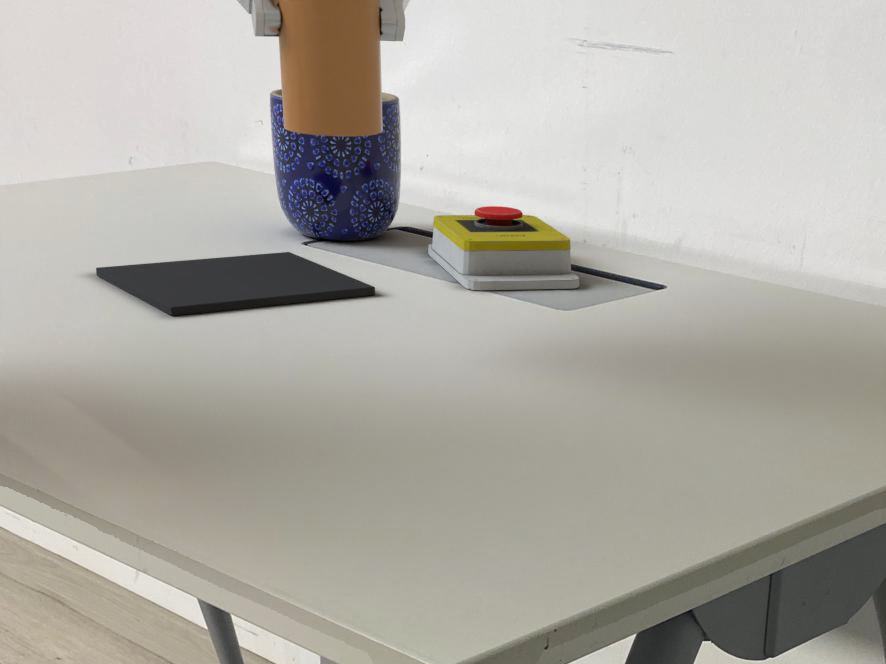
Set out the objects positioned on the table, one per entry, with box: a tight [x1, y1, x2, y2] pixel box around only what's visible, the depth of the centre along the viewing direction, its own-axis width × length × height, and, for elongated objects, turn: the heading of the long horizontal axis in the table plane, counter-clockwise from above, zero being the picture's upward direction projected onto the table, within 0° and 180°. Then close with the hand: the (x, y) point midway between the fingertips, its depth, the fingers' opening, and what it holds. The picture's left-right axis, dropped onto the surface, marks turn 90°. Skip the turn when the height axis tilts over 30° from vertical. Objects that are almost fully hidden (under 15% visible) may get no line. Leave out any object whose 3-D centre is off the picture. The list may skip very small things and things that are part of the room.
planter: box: [269, 88, 402, 242], centre depth 124 cm, size 11×11×11 cm
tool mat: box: [95, 251, 376, 317], centre depth 107 cm, size 16×14×1 cm
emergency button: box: [427, 205, 580, 291], centre depth 116 cm, size 9×4×15 cm
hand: (331, 31), depth 85 cm, fingers closed on pliers tin, 6 cm apart
